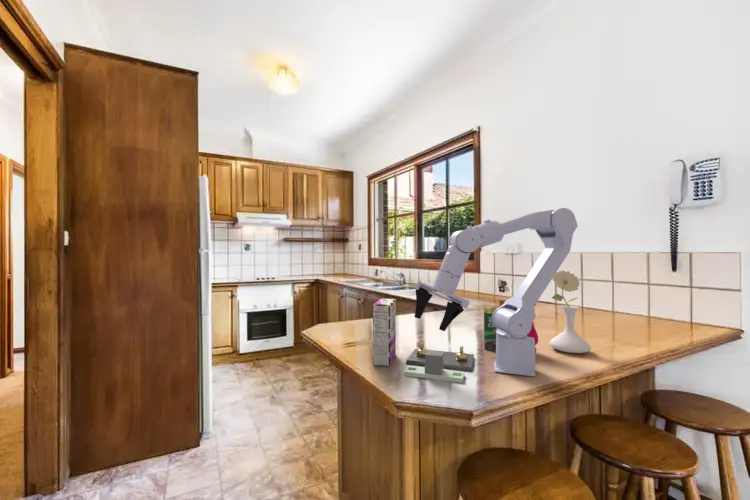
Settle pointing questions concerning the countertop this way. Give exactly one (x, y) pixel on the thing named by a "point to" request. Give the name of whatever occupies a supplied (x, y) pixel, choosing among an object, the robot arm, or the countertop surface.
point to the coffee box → (489, 329)
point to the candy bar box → (384, 332)
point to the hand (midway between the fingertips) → (429, 323)
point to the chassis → (450, 359)
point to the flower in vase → (568, 317)
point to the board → (437, 377)
